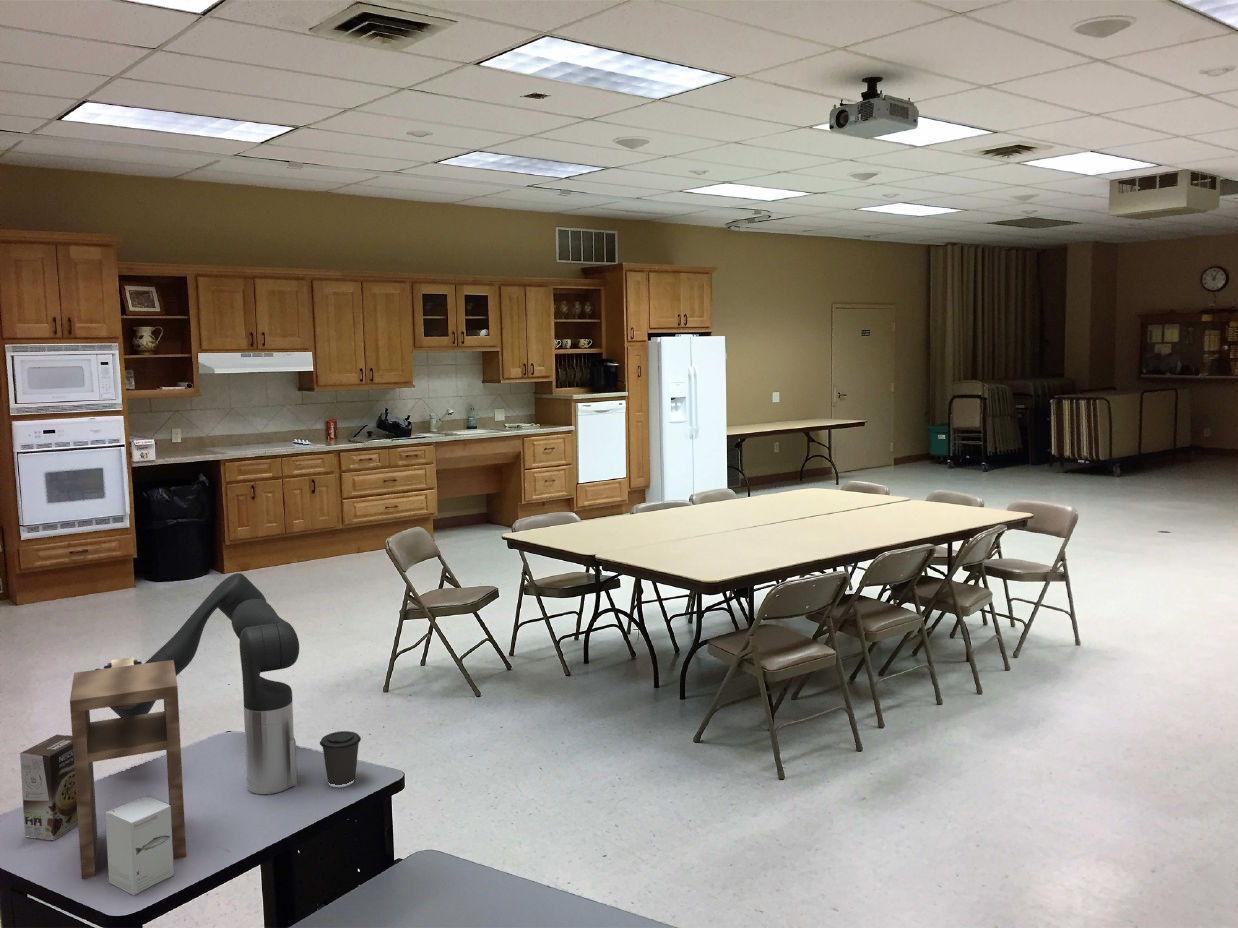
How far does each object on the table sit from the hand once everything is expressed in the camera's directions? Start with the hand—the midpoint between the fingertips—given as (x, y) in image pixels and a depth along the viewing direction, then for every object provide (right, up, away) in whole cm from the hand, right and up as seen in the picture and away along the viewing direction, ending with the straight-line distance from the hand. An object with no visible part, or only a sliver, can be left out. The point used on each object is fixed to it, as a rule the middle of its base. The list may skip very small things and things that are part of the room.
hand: (122, 666), depth 187 cm
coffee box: (-7, -28, -9) cm, 30 cm away
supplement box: (+17, -30, -26) cm, 43 cm away
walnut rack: (+10, -29, -16) cm, 35 cm away
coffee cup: (+40, -26, +10) cm, 48 cm away
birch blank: (+2, -3, -4) cm, 6 cm away
